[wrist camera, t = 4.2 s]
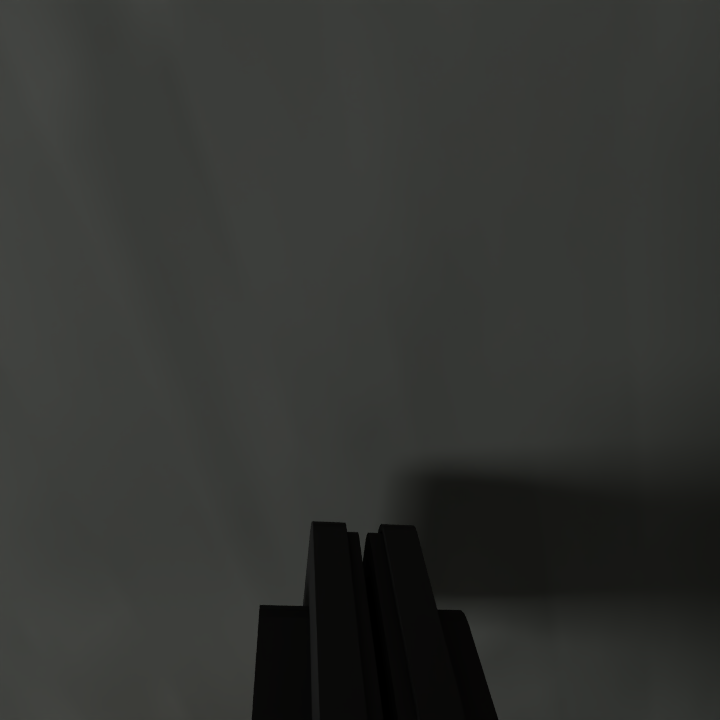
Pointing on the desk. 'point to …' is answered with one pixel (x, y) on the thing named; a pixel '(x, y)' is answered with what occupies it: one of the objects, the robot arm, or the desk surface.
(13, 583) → the desk surface
